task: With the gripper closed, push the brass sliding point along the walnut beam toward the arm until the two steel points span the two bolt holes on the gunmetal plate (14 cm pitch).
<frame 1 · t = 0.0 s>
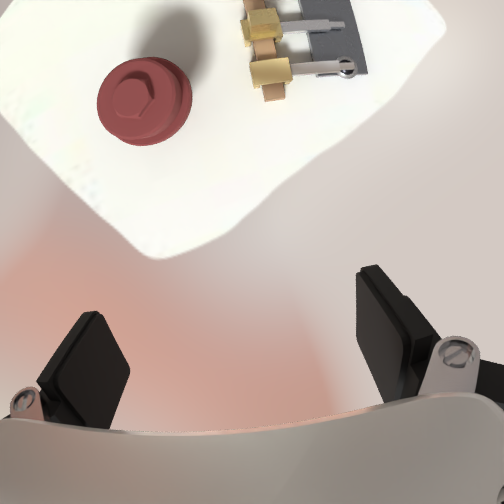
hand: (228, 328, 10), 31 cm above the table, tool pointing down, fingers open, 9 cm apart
mechanical component: (164, 105, 35), on the table
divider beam: (259, 28, 31), on the table
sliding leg: (296, 22, 28), point 4 cm above the table, slide at 6.0 cm
hole plate: (326, 14, 30), on the table
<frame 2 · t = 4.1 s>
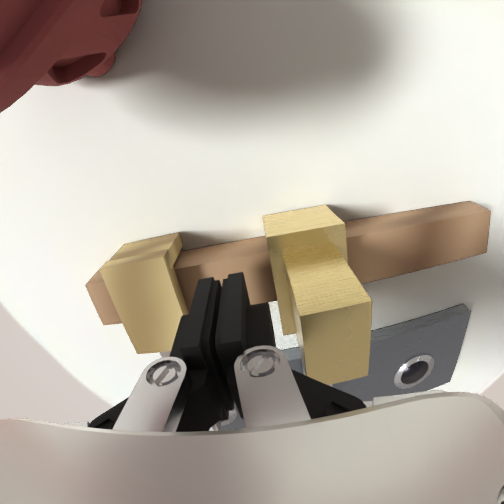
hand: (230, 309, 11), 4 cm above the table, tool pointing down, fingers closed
mechanical component: (90, 26, 10), on the table
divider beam: (300, 252, 15), on the table
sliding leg: (321, 366, 13), point 4 cm above the table, slide at 7.0 cm, touching gripper
hole plate: (336, 377, 18), on the table
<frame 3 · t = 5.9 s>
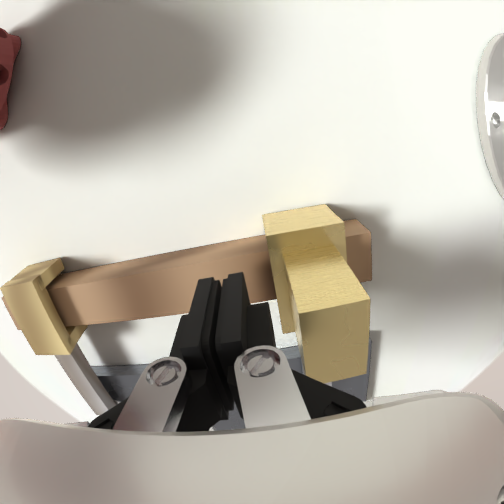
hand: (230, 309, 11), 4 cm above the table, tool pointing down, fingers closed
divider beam: (156, 276, 15), on the table
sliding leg: (320, 364, 13), point 4 cm above the table, slide at 14.5 cm, touching gripper
hole plate: (225, 394, 19), on the table
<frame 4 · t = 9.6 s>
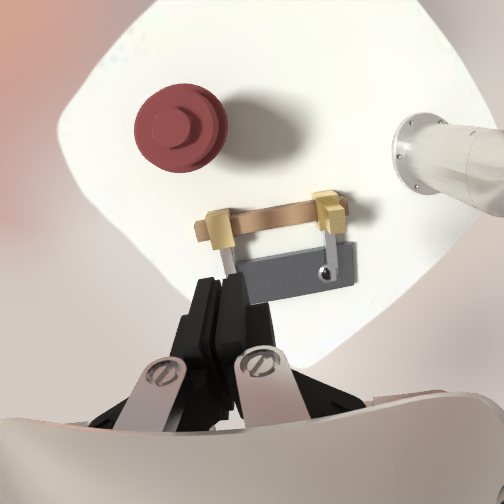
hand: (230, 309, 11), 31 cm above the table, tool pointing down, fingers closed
mechanical component: (193, 128, 37), on the table
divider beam: (271, 215, 42), on the table
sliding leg: (333, 243, 40), point 4 cm above the table, slide at 14.5 cm
hole plate: (291, 273, 46), on the table
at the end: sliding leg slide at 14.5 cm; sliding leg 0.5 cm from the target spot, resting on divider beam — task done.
